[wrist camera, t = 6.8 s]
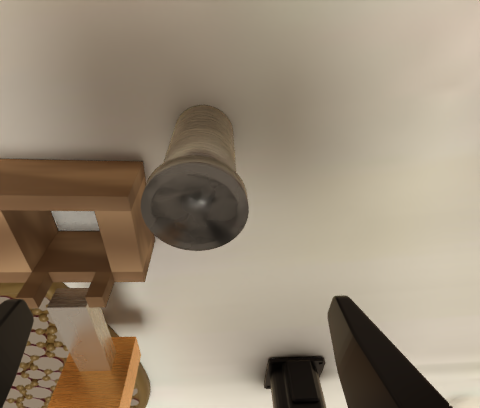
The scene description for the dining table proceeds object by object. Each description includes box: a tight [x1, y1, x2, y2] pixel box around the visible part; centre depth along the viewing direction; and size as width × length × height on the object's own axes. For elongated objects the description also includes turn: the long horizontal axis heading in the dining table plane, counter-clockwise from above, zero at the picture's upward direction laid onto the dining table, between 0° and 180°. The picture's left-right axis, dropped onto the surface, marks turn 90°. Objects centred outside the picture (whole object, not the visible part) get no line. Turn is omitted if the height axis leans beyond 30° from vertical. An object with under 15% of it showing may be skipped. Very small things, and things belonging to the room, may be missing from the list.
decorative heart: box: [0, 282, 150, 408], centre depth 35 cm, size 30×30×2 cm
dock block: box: [0, 159, 155, 308], centre depth 19 cm, size 7×13×6 cm, turn 87°
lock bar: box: [47, 288, 141, 408], centre depth 22 cm, size 11×5×7 cm, turn 177°
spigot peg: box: [141, 105, 249, 251], centre depth 16 cm, size 4×4×8 cm
